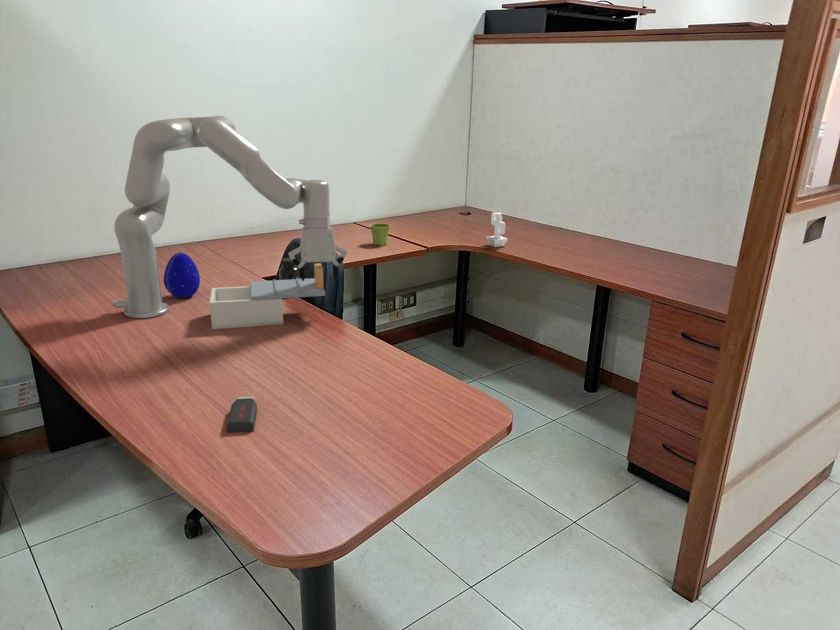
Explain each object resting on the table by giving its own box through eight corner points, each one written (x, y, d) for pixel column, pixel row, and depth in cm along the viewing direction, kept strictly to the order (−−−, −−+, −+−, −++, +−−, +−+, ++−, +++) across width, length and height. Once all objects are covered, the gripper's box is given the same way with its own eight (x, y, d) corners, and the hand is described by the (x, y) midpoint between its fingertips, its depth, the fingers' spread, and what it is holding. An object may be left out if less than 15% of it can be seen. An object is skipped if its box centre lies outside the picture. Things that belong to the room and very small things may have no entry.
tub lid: (251, 299, 177) (249, 276, 174) (251, 284, 190) (249, 262, 188) (325, 295, 182) (324, 272, 180) (319, 281, 196) (319, 259, 193)
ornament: (189, 290, 210) (184, 247, 205) (208, 295, 206) (203, 251, 201) (161, 298, 201) (156, 253, 196) (180, 303, 197) (175, 258, 192)
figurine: (495, 248, 277) (497, 215, 272) (484, 243, 285) (486, 211, 280) (509, 247, 280) (511, 214, 275) (497, 242, 288) (499, 210, 283)
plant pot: (366, 242, 281) (366, 223, 278) (385, 241, 285) (385, 222, 282) (374, 247, 274) (374, 228, 271) (393, 245, 277) (393, 226, 274)
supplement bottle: (276, 294, 208) (274, 260, 204) (289, 289, 214) (287, 255, 210) (292, 298, 205) (290, 263, 201) (305, 292, 211) (303, 258, 207)
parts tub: (212, 329, 177) (209, 302, 175) (214, 312, 190) (212, 288, 187) (283, 324, 182) (281, 298, 179) (280, 308, 195) (279, 284, 192)
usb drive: (227, 434, 125) (226, 422, 124) (234, 406, 136) (233, 394, 135) (253, 432, 126) (252, 420, 125) (258, 404, 137) (257, 393, 136)
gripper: (287, 226, 176) (290, 284, 182) (348, 224, 180) (349, 280, 186) (286, 221, 183) (289, 276, 189) (344, 219, 187) (345, 274, 193)
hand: (318, 278), depth 188 cm, fingers open, 9 cm apart
